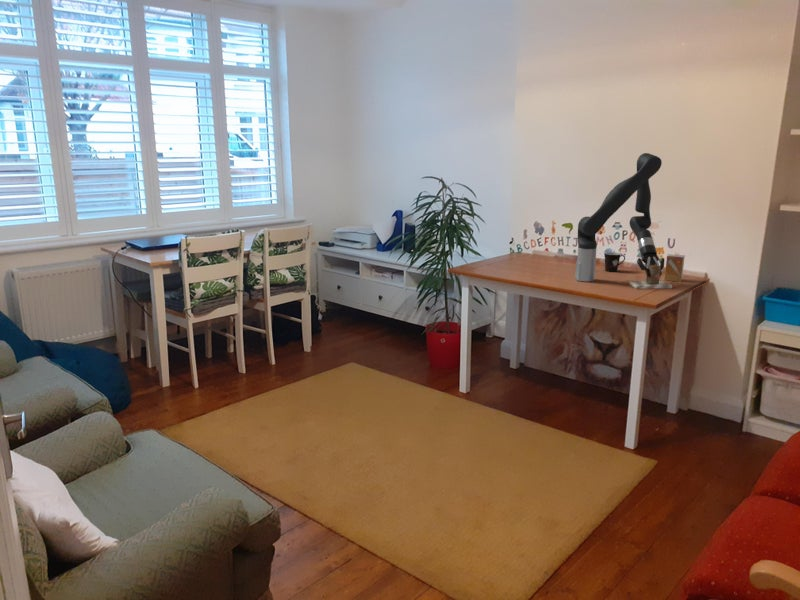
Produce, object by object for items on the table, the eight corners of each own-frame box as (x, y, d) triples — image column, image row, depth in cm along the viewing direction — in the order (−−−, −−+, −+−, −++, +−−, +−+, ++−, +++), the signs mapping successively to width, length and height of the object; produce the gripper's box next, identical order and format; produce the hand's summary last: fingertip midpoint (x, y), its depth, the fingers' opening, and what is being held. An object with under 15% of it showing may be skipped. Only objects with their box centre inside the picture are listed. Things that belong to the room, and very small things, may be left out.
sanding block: (649, 284, 310) (651, 266, 308) (645, 282, 315) (647, 264, 313) (658, 284, 310) (660, 266, 308) (654, 282, 315) (656, 264, 313)
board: (636, 288, 308) (636, 285, 308) (628, 284, 318) (628, 281, 318) (672, 288, 308) (672, 285, 308) (663, 283, 318) (663, 280, 318)
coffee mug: (603, 272, 347) (605, 254, 345) (602, 269, 355) (603, 251, 353) (625, 273, 345) (627, 255, 342) (624, 269, 353) (625, 252, 350)
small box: (664, 280, 326) (666, 255, 323) (665, 277, 332) (668, 253, 328) (680, 281, 322) (683, 257, 319) (682, 279, 328) (684, 255, 324)
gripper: (635, 244, 315) (643, 272, 307) (663, 243, 316) (671, 272, 307) (631, 252, 322) (638, 280, 313) (658, 252, 322) (666, 280, 313)
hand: (654, 276), depth 310 cm, fingers closed on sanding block, 4 cm apart
